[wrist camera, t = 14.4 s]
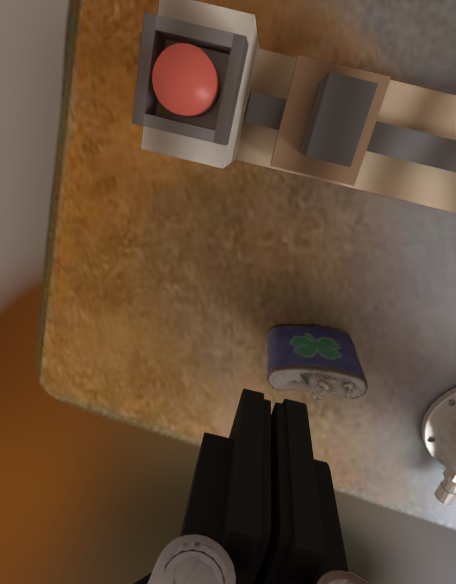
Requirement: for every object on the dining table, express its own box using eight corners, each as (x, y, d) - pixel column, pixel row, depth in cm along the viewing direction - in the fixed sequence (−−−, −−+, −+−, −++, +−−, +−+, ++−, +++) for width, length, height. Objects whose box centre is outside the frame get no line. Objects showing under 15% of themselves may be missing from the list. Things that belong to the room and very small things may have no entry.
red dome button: (226, 60, 24) (221, 51, 21) (214, 122, 25) (208, 121, 23) (169, 46, 24) (157, 36, 21) (160, 109, 25) (148, 107, 23)
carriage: (380, 81, 31) (420, 63, 23) (347, 181, 35) (371, 197, 26) (296, 61, 31) (305, 35, 23) (270, 163, 35) (270, 172, 26)
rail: (521, 114, 34) (676, 102, 21) (473, 215, 37) (581, 259, 24) (194, 36, 34) (148, -23, 21) (177, 144, 37) (128, 150, 25)
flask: (266, 343, 45) (266, 402, 35) (269, 319, 43) (269, 374, 34) (349, 350, 44) (372, 413, 34) (353, 327, 43) (379, 385, 33)
